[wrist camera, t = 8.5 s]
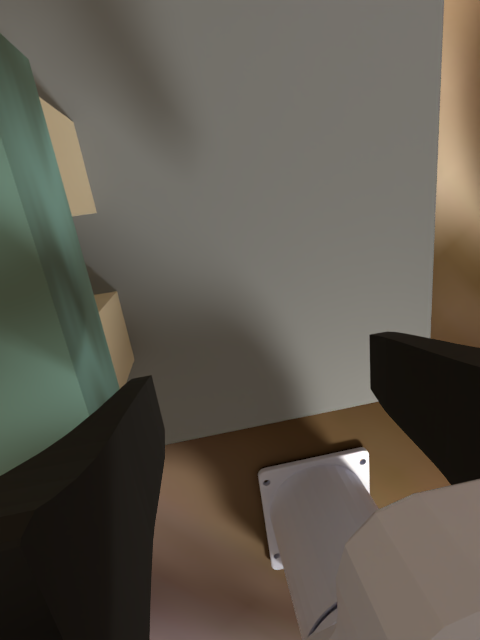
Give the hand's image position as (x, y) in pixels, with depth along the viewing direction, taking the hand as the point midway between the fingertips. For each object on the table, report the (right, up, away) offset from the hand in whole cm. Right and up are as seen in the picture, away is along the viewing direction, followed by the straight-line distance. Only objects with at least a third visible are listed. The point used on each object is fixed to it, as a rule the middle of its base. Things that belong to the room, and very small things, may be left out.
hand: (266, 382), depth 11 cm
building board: (-3, +7, +8) cm, 11 cm away
